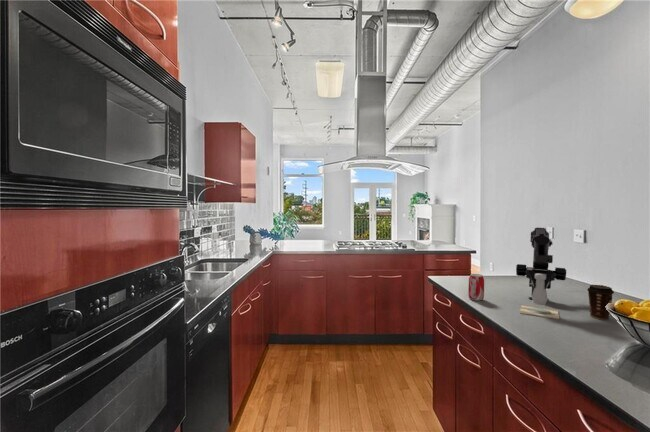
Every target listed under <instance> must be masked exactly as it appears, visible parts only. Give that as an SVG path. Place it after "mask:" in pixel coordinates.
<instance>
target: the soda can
mask: <svg viewBox="0 0 650 432" xmlns="http://www.w3.org/2000/svg"><path fill="white" fill-rule="evenodd" d="M467 291H468V295H467V296H468V298H469V299H470V300H471V301H478V302H481V301H482V300H484V297H485V278H484V275H483V274H480V273H479V274H478V273H470V276H469V277H468V290H467Z"/></svg>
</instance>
